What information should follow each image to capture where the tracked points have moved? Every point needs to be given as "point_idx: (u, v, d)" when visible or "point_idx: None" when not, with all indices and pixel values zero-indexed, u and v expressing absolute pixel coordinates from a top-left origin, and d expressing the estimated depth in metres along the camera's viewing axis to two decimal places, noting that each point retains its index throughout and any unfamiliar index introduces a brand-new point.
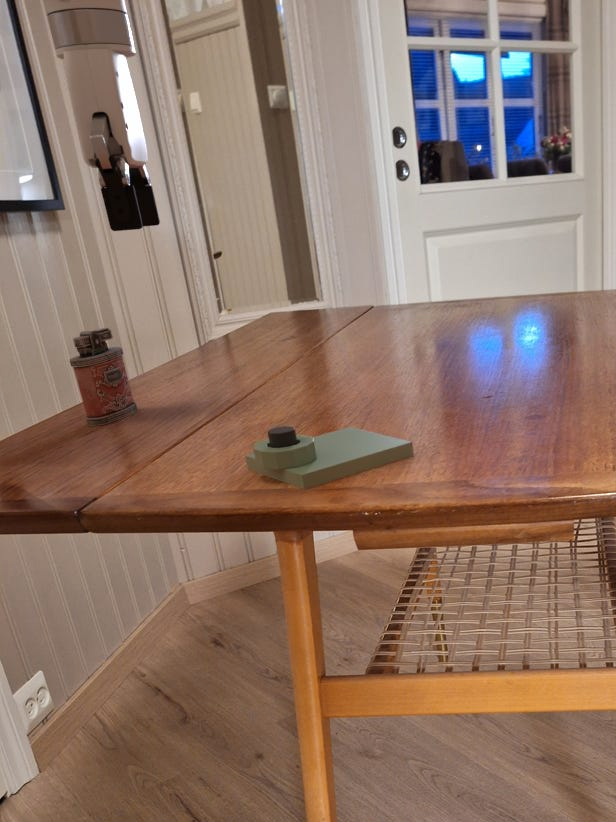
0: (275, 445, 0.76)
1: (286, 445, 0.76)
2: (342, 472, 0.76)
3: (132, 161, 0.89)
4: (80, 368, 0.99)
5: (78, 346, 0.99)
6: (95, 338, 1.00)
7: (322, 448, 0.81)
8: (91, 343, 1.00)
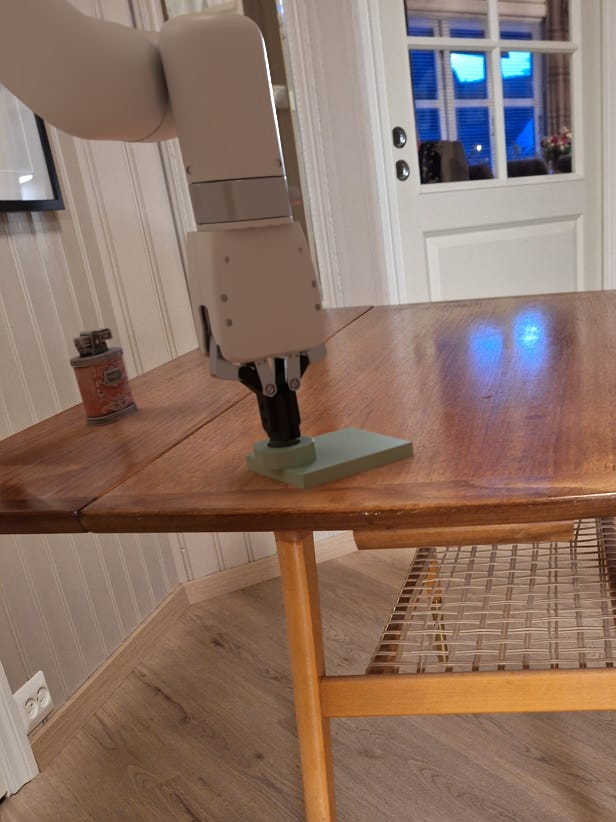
0: None
1: None
2: (342, 472, 0.76)
3: (241, 360, 0.70)
4: (80, 368, 0.99)
5: (78, 346, 0.99)
6: (95, 338, 1.00)
7: (322, 448, 0.81)
8: (91, 343, 1.00)
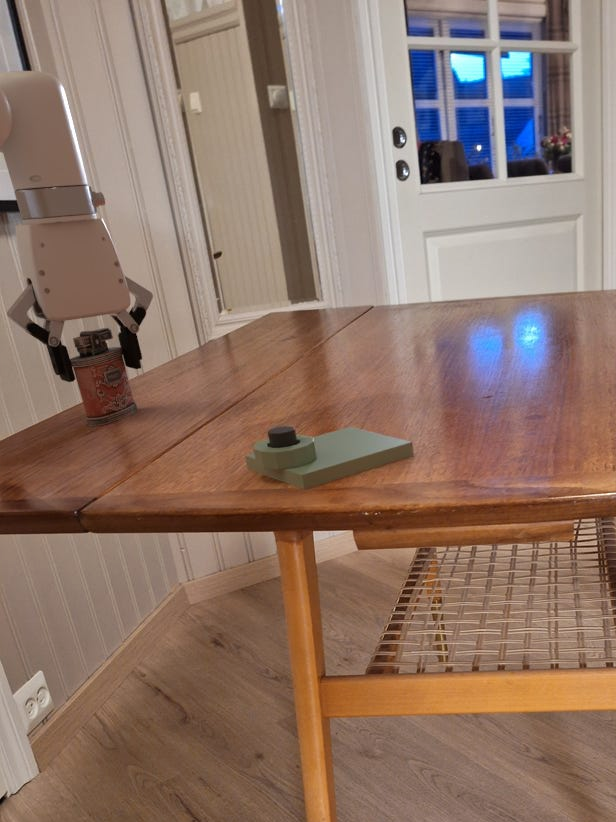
0: (275, 445, 0.76)
1: (286, 445, 0.76)
2: (342, 472, 0.76)
3: (59, 319, 0.96)
4: (80, 368, 0.99)
5: (78, 346, 0.99)
6: (95, 338, 1.00)
7: (322, 448, 0.81)
8: (91, 343, 1.00)
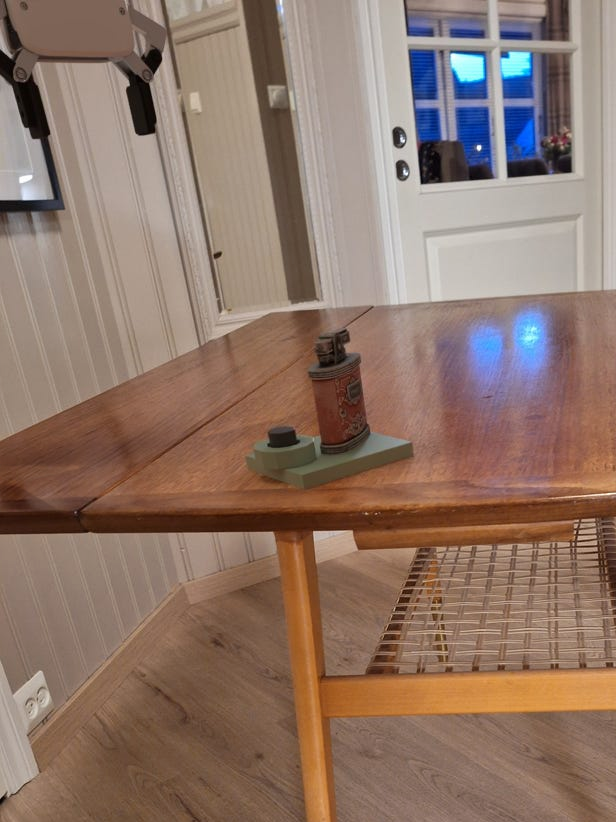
0: (275, 445, 0.76)
1: (286, 445, 0.76)
2: (342, 472, 0.76)
3: (41, 51, 0.73)
4: (322, 381, 0.75)
5: (320, 352, 0.75)
6: (337, 342, 0.77)
7: None
8: (334, 348, 0.76)
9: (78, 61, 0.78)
